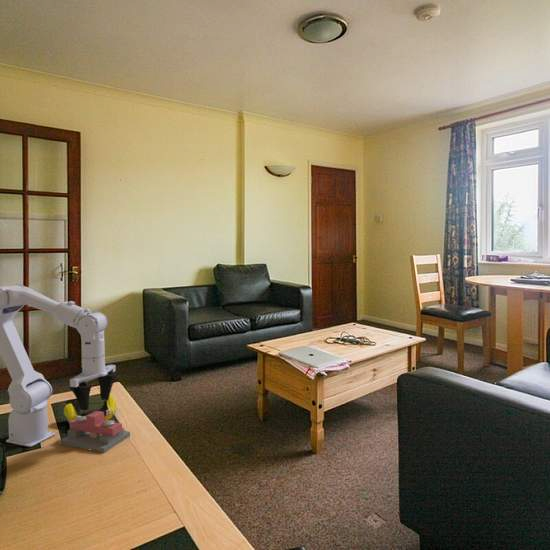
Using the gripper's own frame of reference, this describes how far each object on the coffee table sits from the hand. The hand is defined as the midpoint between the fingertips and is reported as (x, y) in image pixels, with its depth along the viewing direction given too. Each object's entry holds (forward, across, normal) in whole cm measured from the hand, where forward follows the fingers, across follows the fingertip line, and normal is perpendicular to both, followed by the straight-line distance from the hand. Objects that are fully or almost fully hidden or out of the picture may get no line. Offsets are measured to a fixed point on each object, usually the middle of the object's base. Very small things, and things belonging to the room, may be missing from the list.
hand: (94, 404), depth 107 cm
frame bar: (+7, 0, 0) cm, 7 cm away
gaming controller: (+11, +10, +12) cm, 19 cm away
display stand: (+10, 0, 0) cm, 10 cm away
